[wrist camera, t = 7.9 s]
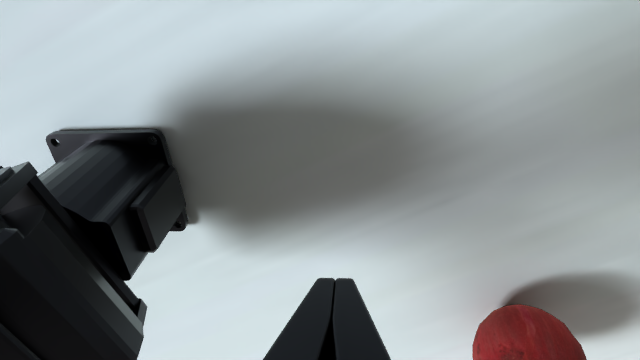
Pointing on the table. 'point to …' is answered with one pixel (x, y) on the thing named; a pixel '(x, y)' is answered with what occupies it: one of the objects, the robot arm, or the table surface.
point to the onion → (524, 336)
